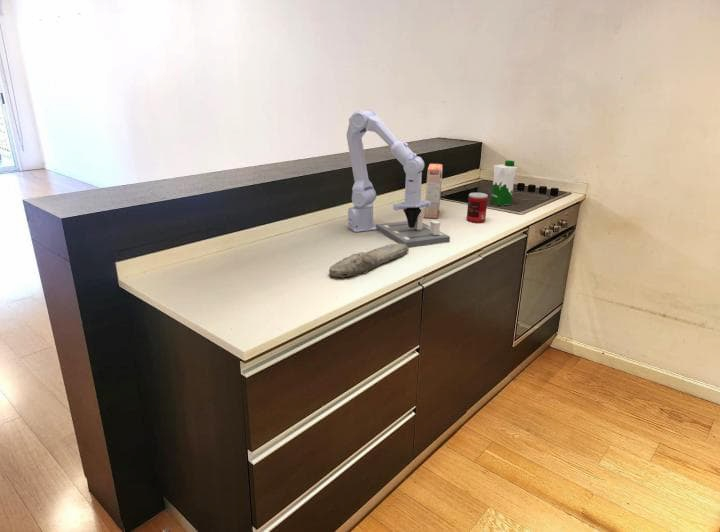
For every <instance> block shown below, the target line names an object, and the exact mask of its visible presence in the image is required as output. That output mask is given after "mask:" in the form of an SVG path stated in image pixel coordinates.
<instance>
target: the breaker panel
mask: <svg viewBox="0 0 720 532" xmlns="http://www.w3.org/2000/svg"><path fill="white" fill-rule="evenodd" d="M375 227H376V228H377V230H376V231H378V232H380V233H381V234H383V235H385V236H386V237H388V238H389V239H390V240H392V241H394V242H395V243H396V244H399V243H400V244H405V245H407V247H408V248H409V249H410V248H415V247H423V246H429V245H437V244H445V243H450V241H451V240H450V239H451V236H450V235H448V234H445V233H444V232H442V231H440V230H439V235H433V234H431V233H430V227H431V225H428V224H426V223H424V222H422V229H420V230H417V229H415V228H410V227H409V226H408V221H407V220H404V221H403V220H402V221H393V222H386V223H378V224H375Z"/></svg>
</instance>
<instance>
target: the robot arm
mask: <svg viewBox="0 0 720 532" xmlns="http://www.w3.org/2000/svg"><path fill="white" fill-rule="evenodd" d="M367 131H368V132H373V133H376V134H377V135H378V136H379V137H380V139H382V140H383V141H384V142H385V143H386V144H387V145H388V146H389V147H390V153H391V154H392V156H393V157H394V158H395V159H397V161H398V162H399V163H400V164H401V166H403V170H404V173H405V184H404V185H405V190H404V201H403V202H399V203H398V202H397V203H394V204H393V211H397V212H398V211H400V210H403V213H404V214H405V217H406V221H408V226H409V227H410V228H414V226H415V223H416V220H417V218H418V216H420V214H421V213H422V209H421V208H425V207H431V202H430V201H425V200H421V197H422V196H421V195H422V178H423V177H422V176H423V172H422V171H424V169H425V161H424V160H423V158H422V157H421V156H417V155H418V154H416V153H415V152H413V151H412V150H411V149H410V147H409V144H408V143H407V141H406V142H405V141H404V140H403V141H402V140H398V139H397V138H396V137H395V135H393V133H392V132H391V131H390V129H388V127H387V126H386V125H385V124H384V122H383V121H382V120H381V118H380V116H378V115H377V114H376V113H375V112H374V111H373V110H372V109H366V110H358V111H357V110H356V111H354V112H353V113H352V114H351V116H350V117H349V118H348V126H347V131H346V141H347V146H348V151H349V152H348V153H349V159H350V164H351V169H352V174H353V181H354V183H353V186H352V188H351V190H352V193H351V202H352V204H353V205H354V206H352V207H349V208H348V211H347V228H348V229H350V230H351V231H352V232H353V233H358V232H368V231H369V232H370V231H375V230H376V231H378V230H377V228H376V226H374V202H375V201H376V199H377V193H376V190H375V189H374V186H373V183H372V182H371V181H370V179H369V174H368V169H367V167H368V166H367V161H366V157H365V156H366V155H365V150H364V144H363V140H362V138H363V137H364V135H365V134H366V133H367Z"/></svg>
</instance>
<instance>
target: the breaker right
mask: <svg viewBox="0 0 720 532" xmlns="http://www.w3.org/2000/svg"><path fill="white" fill-rule="evenodd" d="M440 226H441V222H439V221H437V220H431V221H430V233H431V234H433V235H439V231H440V229H441V228H440Z"/></svg>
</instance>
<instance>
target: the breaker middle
mask: <svg viewBox="0 0 720 532" xmlns="http://www.w3.org/2000/svg"><path fill="white" fill-rule="evenodd" d="M423 220H424V217H422V216H420V215H419V216H418V218H417V220H416V223H415V226H414V228H415V229H417V230H420V229H422V223H423Z"/></svg>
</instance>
